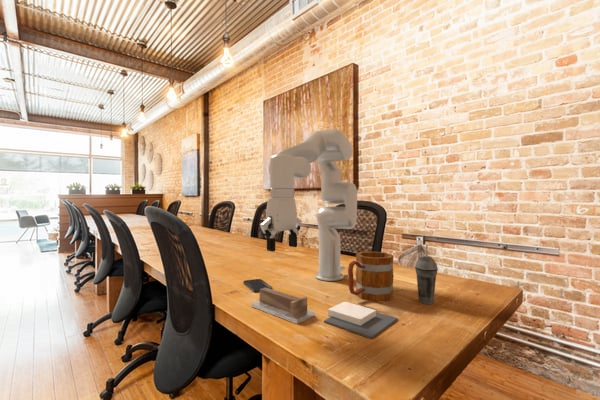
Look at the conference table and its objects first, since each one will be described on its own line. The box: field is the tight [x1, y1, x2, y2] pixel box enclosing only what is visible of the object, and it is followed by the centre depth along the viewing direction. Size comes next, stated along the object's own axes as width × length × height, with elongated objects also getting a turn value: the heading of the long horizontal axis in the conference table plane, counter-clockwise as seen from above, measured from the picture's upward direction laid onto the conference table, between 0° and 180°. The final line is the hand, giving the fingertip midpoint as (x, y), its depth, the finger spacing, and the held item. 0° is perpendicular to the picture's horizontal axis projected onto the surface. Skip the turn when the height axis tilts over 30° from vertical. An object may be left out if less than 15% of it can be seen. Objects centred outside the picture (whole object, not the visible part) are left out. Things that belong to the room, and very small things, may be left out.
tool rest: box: [251, 299, 316, 325], centre depth 94 cm, size 8×20×1 cm, turn 48°
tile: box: [327, 301, 377, 326], centre depth 89 cm, size 9×2×11 cm
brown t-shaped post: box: [259, 287, 308, 316], centre depth 95 cm, size 6×17×4 cm, turn 48°
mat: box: [323, 311, 399, 340], centre depth 87 cm, size 16×15×1 cm
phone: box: [243, 278, 273, 294], centre depth 120 cm, size 8×1×15 cm
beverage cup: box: [414, 243, 439, 305], centre depth 103 cm, size 7×7×20 cm
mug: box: [347, 251, 395, 303], centre depth 107 cm, size 20×14×15 cm
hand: (282, 248), depth 94 cm, fingers open, 9 cm apart
